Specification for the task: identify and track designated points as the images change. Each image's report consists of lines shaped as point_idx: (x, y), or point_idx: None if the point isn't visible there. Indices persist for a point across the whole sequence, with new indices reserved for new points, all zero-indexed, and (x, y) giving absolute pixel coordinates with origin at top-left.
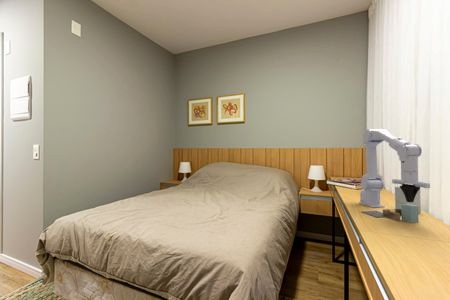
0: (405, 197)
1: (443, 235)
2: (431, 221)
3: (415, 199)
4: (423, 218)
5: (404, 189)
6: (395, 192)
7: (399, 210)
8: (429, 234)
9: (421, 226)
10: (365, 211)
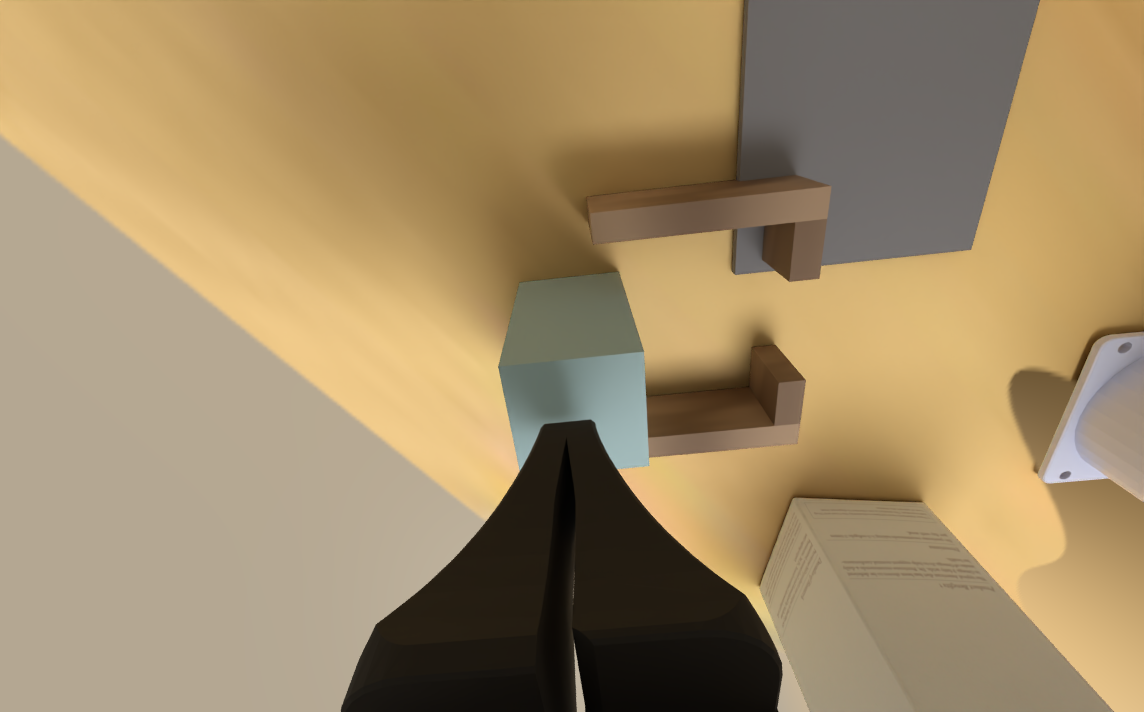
0: (600, 451)
1: (160, 248)
2: None
3: (827, 687)
4: None
5: (595, 575)
6: (1083, 688)
7: (769, 405)
8: (149, 131)
9: (405, 281)
10: (1015, 48)
